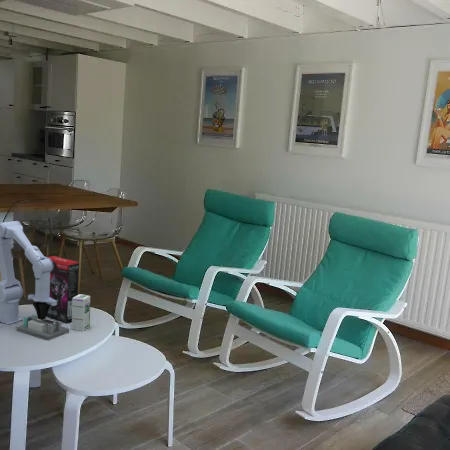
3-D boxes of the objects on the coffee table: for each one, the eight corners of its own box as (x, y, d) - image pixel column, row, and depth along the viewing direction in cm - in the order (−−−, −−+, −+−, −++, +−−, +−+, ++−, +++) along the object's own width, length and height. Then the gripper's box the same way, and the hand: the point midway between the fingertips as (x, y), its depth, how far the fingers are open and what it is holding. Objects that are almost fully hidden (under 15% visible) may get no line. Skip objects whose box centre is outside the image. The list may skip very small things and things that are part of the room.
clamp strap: (27, 321, 223) (27, 316, 223) (32, 319, 225) (32, 314, 225) (53, 328, 217) (53, 323, 216) (58, 327, 219) (58, 321, 219)
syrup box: (83, 331, 226) (85, 298, 224) (71, 329, 227) (72, 297, 225) (89, 327, 231) (91, 295, 229) (77, 325, 232) (78, 293, 230)
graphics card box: (40, 315, 241) (42, 257, 237) (52, 311, 247) (54, 255, 243) (66, 324, 233) (68, 264, 229) (78, 320, 239) (80, 262, 235)
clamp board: (16, 330, 221) (16, 318, 220) (38, 322, 231) (38, 311, 231) (48, 340, 213) (48, 327, 212) (69, 332, 223) (69, 320, 223)
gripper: (22, 286, 218) (21, 317, 220) (48, 292, 212) (47, 324, 214) (35, 282, 225) (34, 313, 227) (60, 289, 218) (60, 320, 220)
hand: (41, 318), depth 221 cm, fingers closed on clamp strap
